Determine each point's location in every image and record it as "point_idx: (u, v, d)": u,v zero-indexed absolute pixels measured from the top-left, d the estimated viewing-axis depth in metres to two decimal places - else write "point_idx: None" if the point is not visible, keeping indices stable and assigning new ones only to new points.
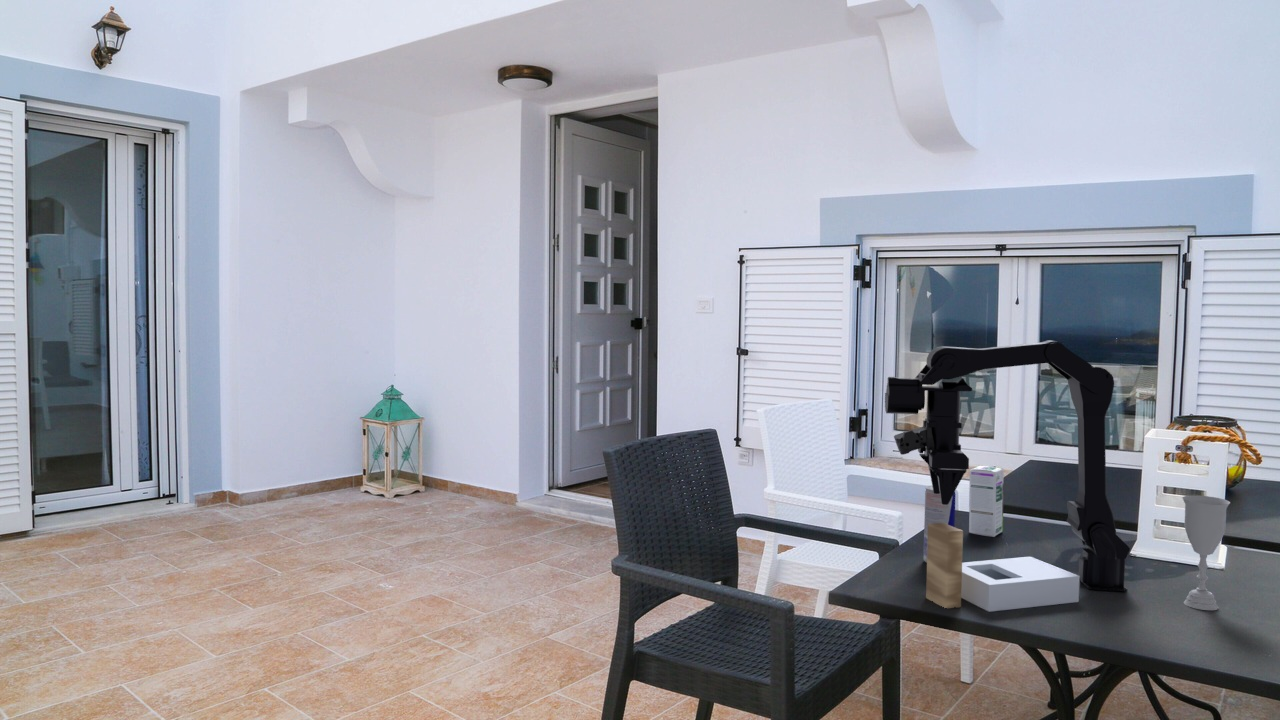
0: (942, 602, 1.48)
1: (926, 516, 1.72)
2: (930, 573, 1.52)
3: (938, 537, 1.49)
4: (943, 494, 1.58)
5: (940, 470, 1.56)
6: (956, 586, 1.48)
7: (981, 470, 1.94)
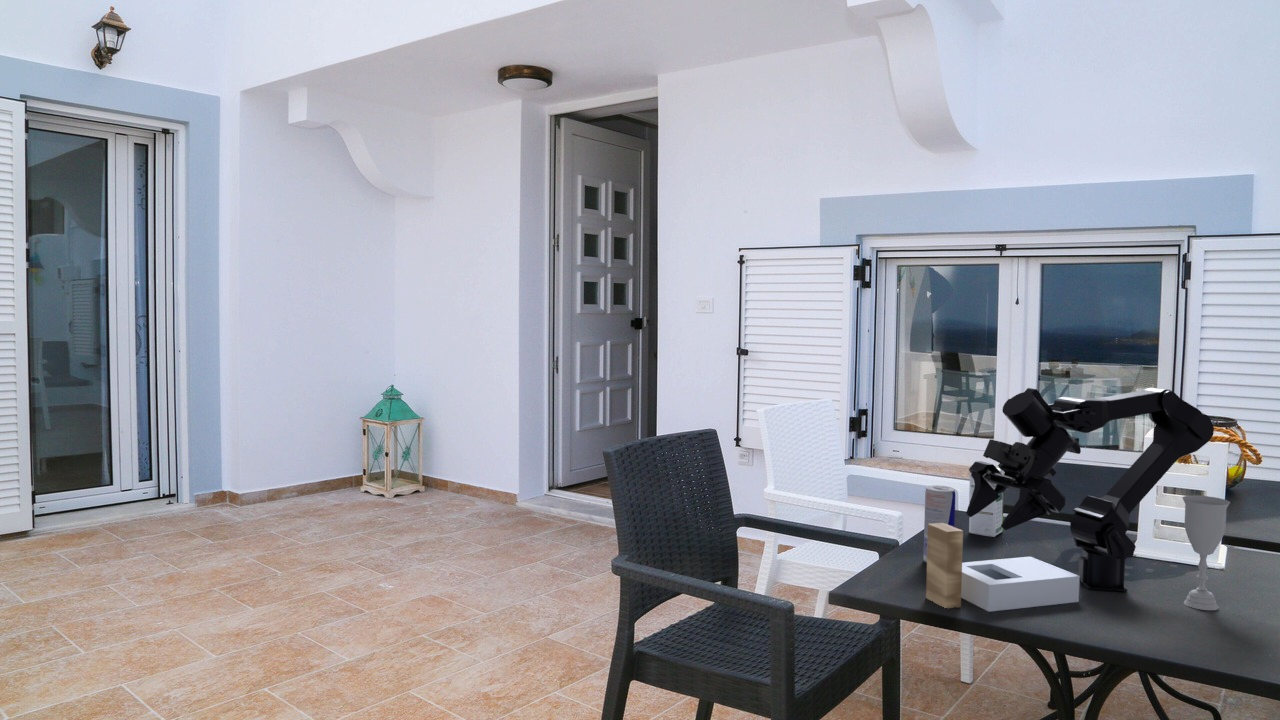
0: (942, 602, 1.48)
1: (926, 516, 1.72)
2: (930, 573, 1.52)
3: (938, 537, 1.49)
4: (1011, 518, 1.47)
5: (1037, 496, 1.45)
6: (956, 586, 1.48)
7: None
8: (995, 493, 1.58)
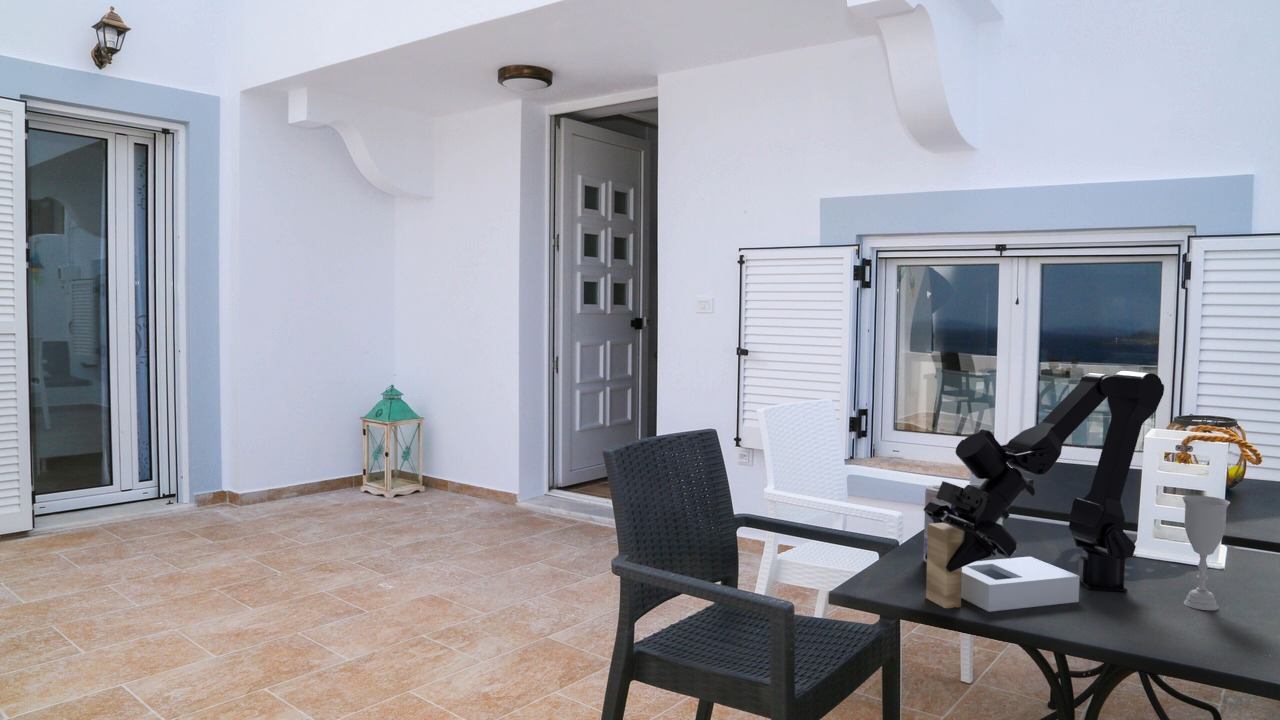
0: (942, 602, 1.48)
1: (926, 516, 1.72)
2: (930, 573, 1.52)
3: (938, 537, 1.49)
4: (956, 560, 1.47)
5: (981, 539, 1.44)
6: (956, 586, 1.48)
7: None
8: None
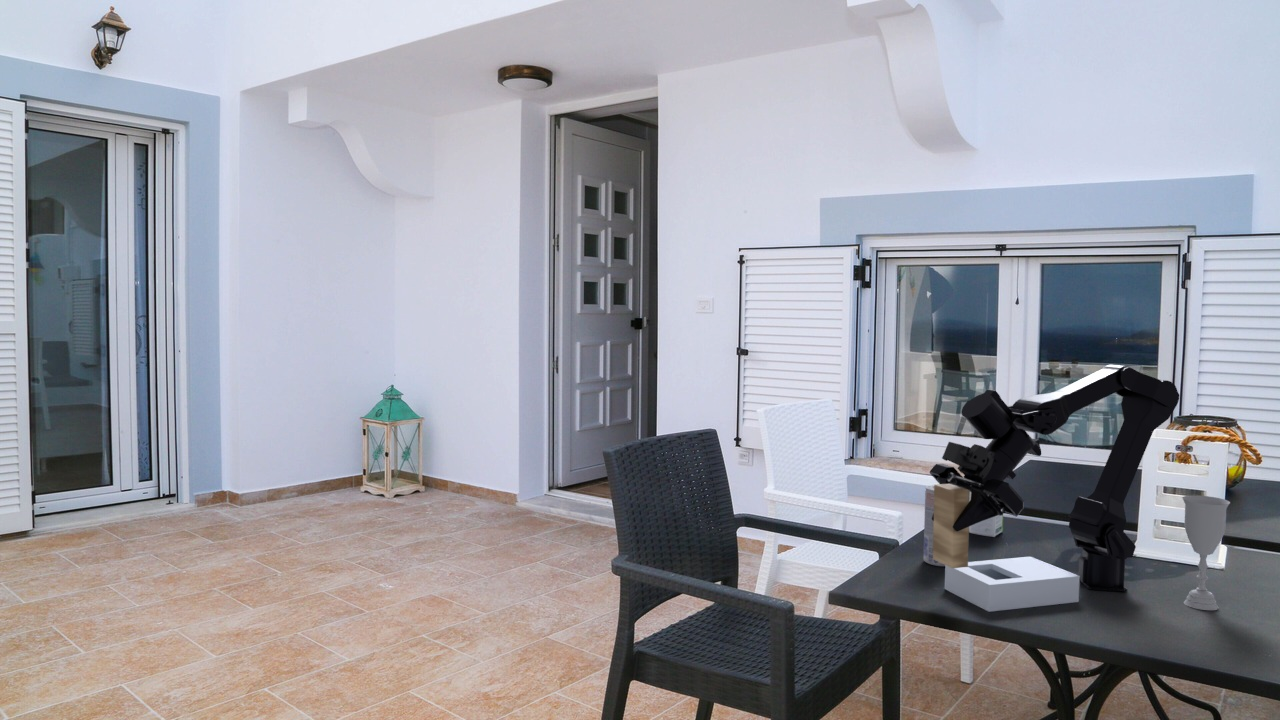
0: (949, 562, 1.48)
1: (926, 516, 1.72)
2: (937, 534, 1.51)
3: (945, 497, 1.49)
4: (963, 520, 1.46)
5: (988, 497, 1.44)
6: (963, 546, 1.48)
7: None
8: None
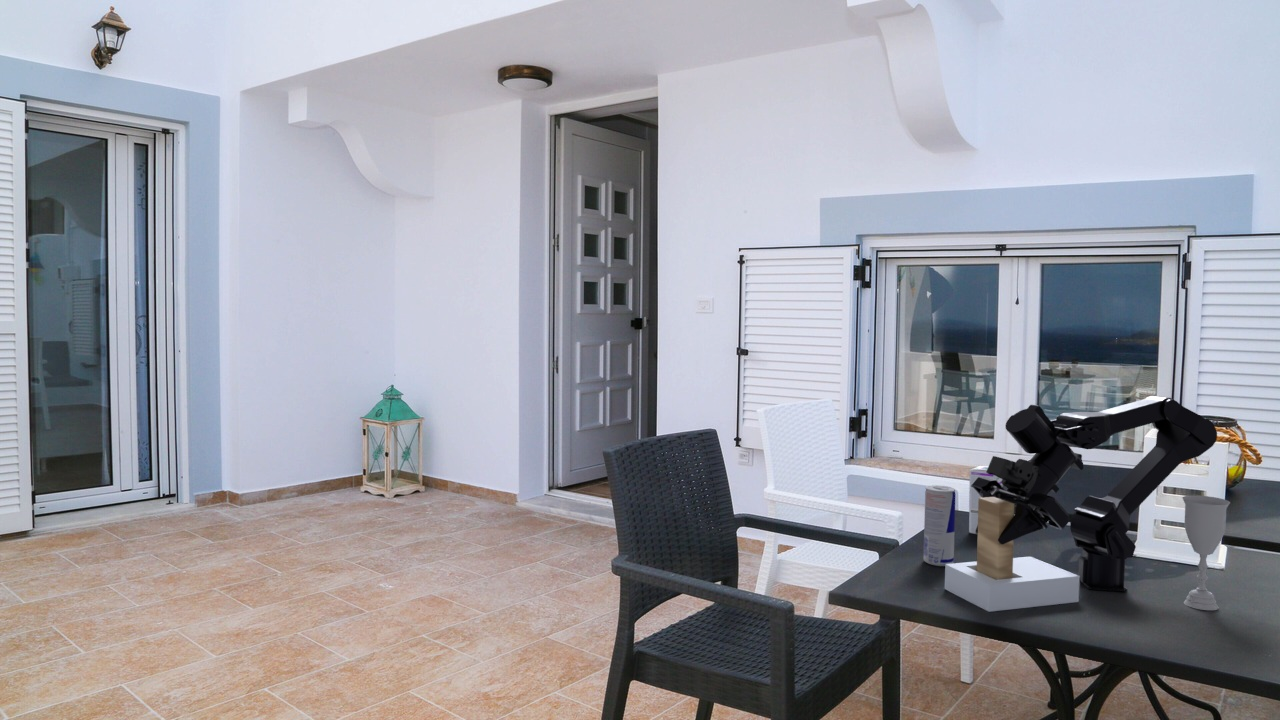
0: (994, 574, 1.51)
1: (926, 516, 1.72)
2: (981, 546, 1.54)
3: (990, 511, 1.52)
4: (1008, 533, 1.49)
5: (1033, 511, 1.47)
6: (1008, 558, 1.51)
7: (981, 470, 1.94)
8: None
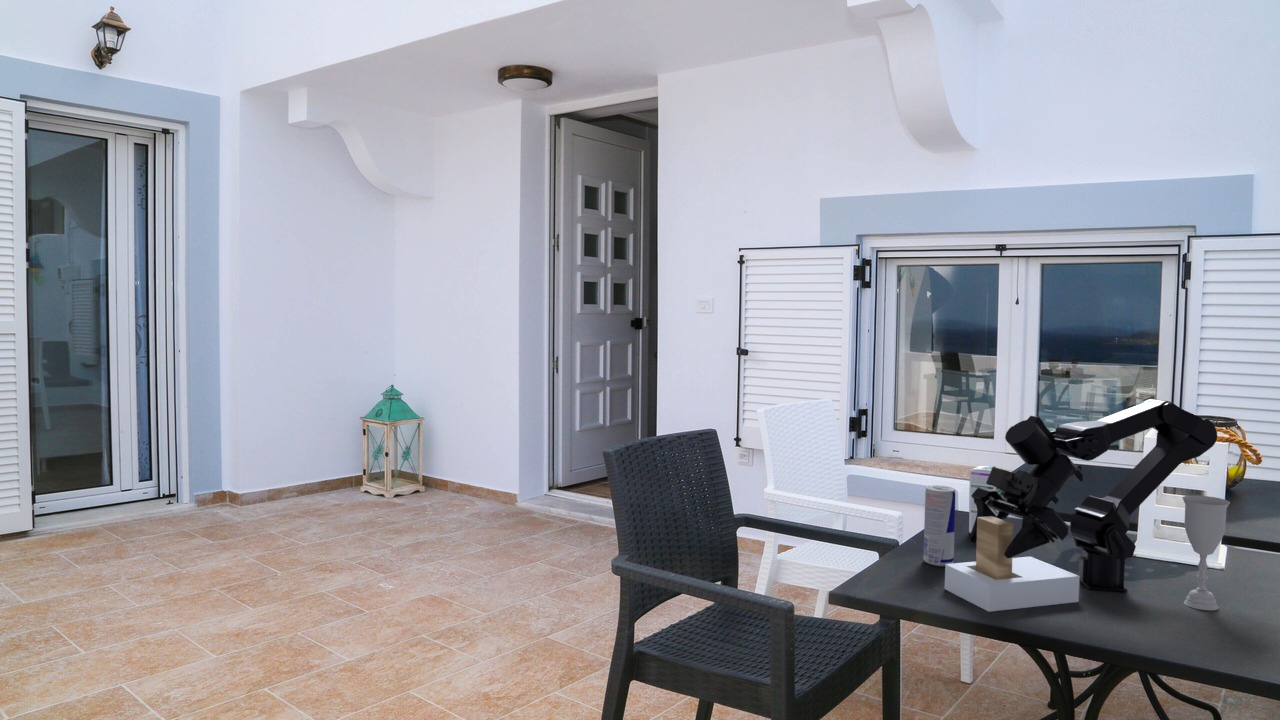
0: None
1: (926, 516, 1.72)
2: (980, 565, 1.54)
3: (988, 530, 1.52)
4: (1014, 547, 1.48)
5: (1040, 525, 1.45)
6: (1007, 578, 1.51)
7: (981, 470, 1.94)
8: None
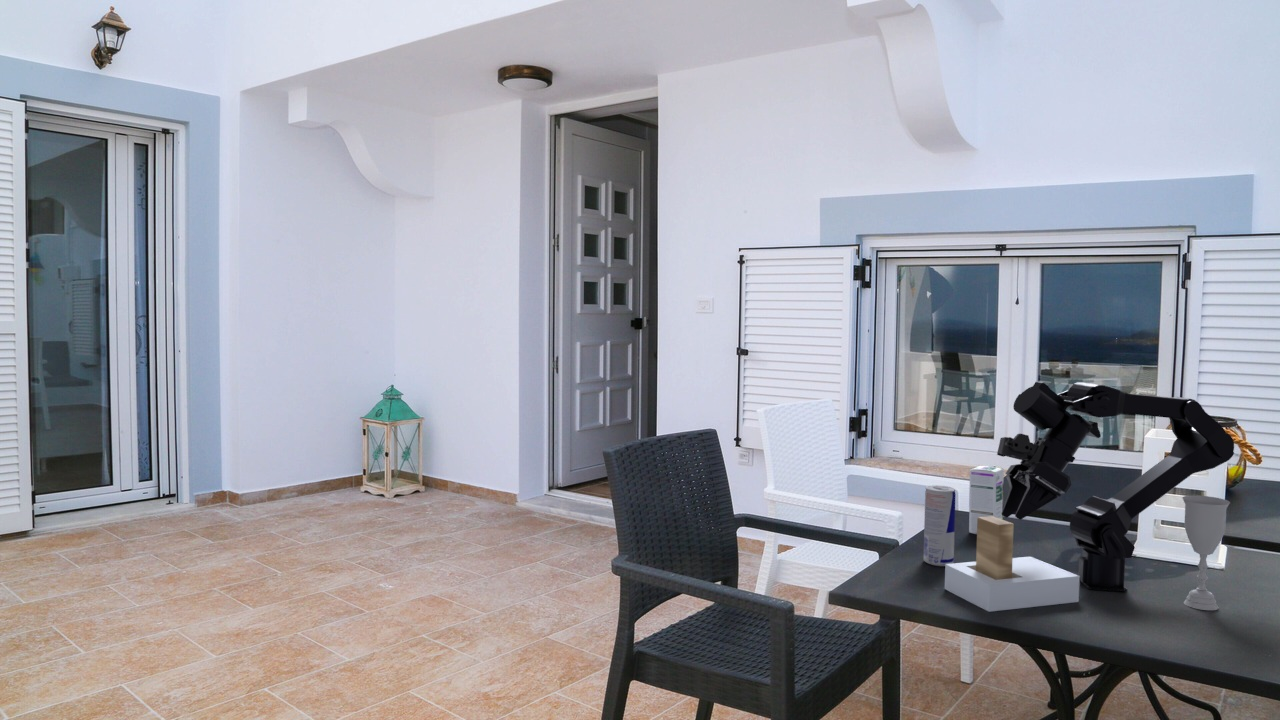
0: None
1: (926, 516, 1.72)
2: (980, 565, 1.54)
3: (989, 530, 1.52)
4: (1022, 507, 1.51)
5: (1037, 480, 1.49)
6: (1007, 578, 1.51)
7: (981, 470, 1.94)
8: None
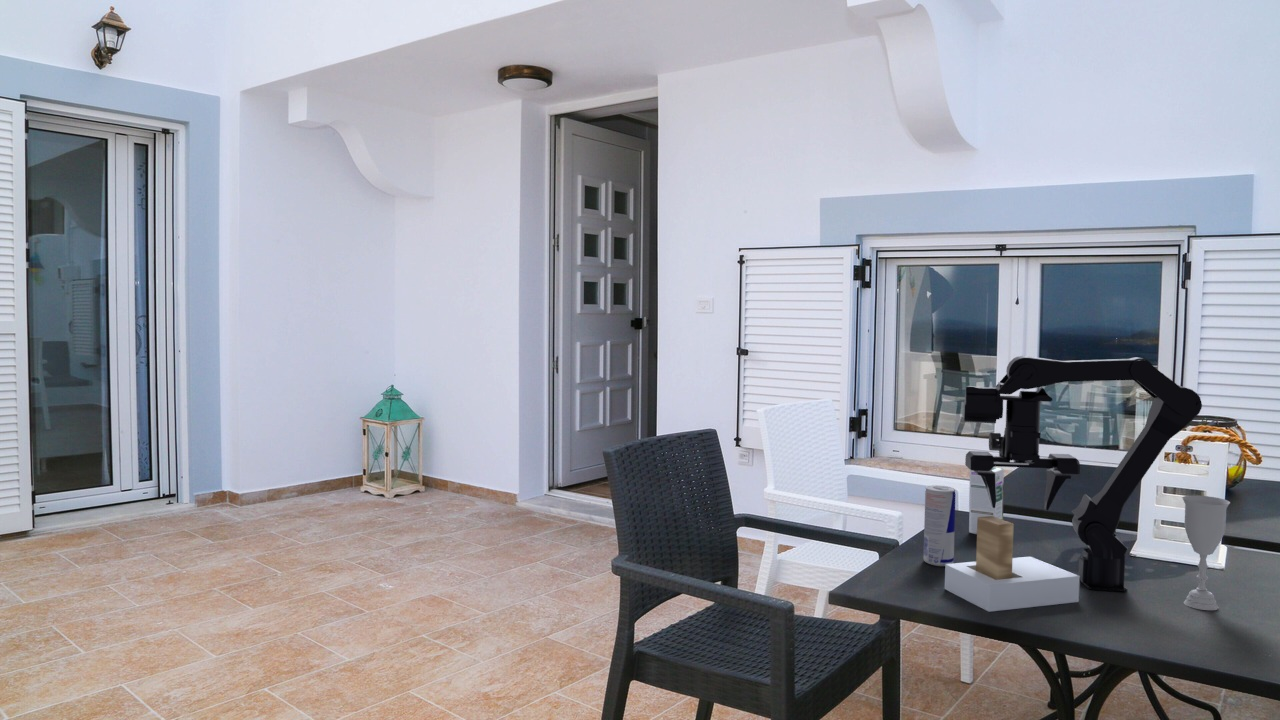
0: None
1: (926, 516, 1.72)
2: (980, 565, 1.54)
3: (989, 530, 1.52)
4: None
5: None
6: (1007, 578, 1.51)
7: None
8: (1053, 475, 1.60)
